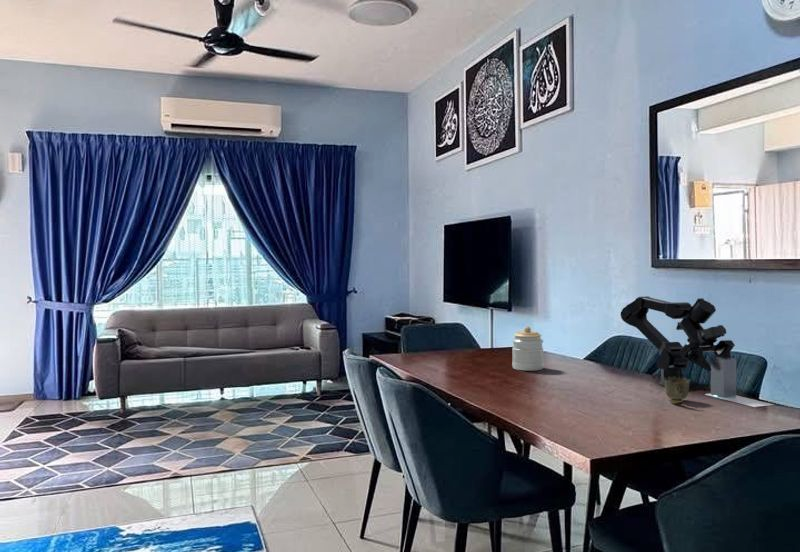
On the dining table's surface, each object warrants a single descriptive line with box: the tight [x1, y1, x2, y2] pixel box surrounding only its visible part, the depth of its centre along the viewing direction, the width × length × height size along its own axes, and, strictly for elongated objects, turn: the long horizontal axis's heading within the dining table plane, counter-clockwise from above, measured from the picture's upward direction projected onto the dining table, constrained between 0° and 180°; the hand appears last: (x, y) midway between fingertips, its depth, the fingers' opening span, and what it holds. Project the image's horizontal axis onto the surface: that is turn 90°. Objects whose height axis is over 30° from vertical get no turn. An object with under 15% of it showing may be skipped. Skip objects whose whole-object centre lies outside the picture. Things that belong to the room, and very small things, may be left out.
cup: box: [664, 376, 691, 406], centre depth 193 cm, size 8×7×8 cm
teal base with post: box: [710, 393, 737, 399], centre depth 200 cm, size 7×7×4 cm
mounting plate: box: [704, 393, 775, 408], centre depth 194 cm, size 19×8×1 cm, turn 19°
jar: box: [511, 326, 544, 372], centre depth 259 cm, size 13×13×18 cm
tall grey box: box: [710, 356, 737, 397], centre depth 199 cm, size 5×5×12 cm
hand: (721, 369), depth 200 cm, fingers open, 9 cm apart
